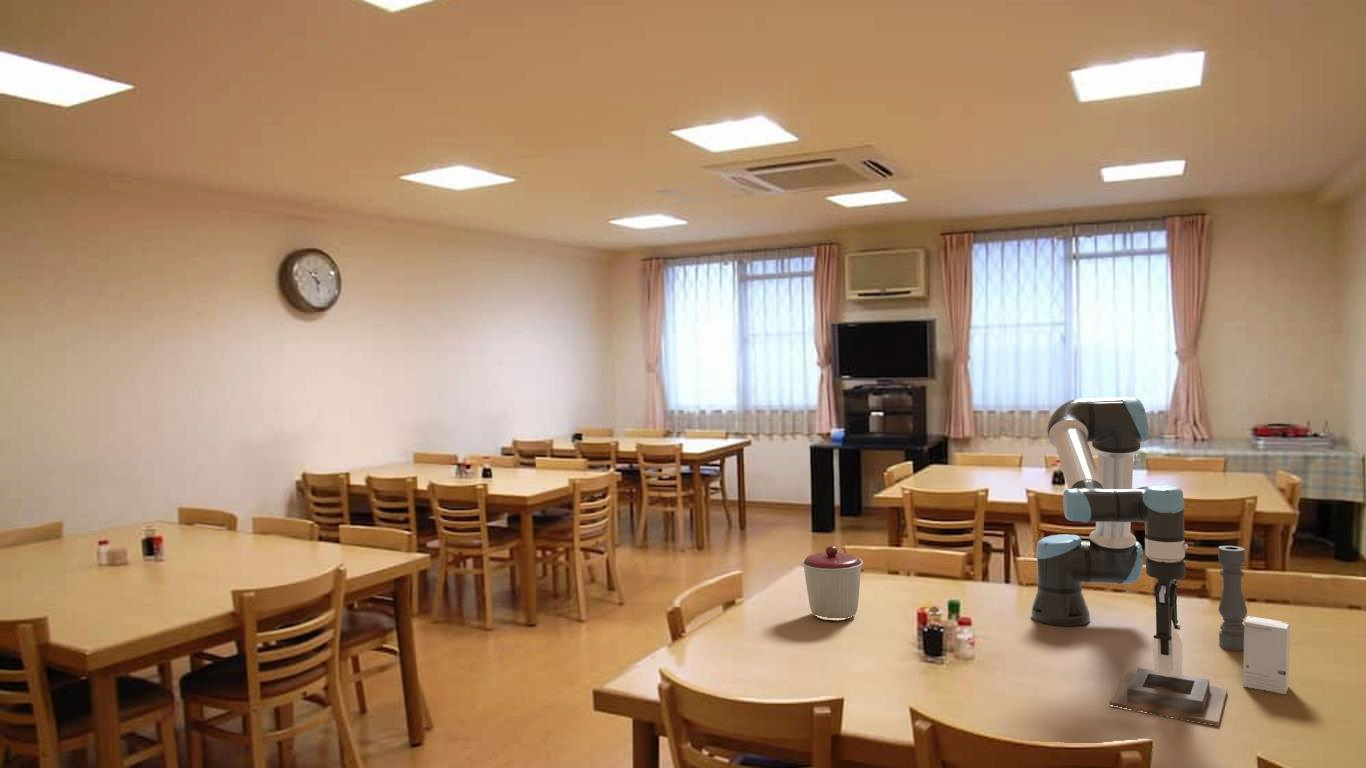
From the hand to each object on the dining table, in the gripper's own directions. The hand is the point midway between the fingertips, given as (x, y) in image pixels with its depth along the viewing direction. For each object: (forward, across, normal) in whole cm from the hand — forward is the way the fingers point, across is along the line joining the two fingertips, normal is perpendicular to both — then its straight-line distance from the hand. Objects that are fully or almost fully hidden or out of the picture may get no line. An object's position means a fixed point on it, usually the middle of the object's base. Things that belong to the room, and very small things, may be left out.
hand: (1168, 663), depth 188 cm
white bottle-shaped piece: (+2, 0, 0) cm, 2 cm away
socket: (+8, 0, 0) cm, 8 cm away
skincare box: (+8, +18, -17) cm, 26 cm away
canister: (+8, +20, +90) cm, 93 cm away
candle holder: (+8, +44, -9) cm, 46 cm away
